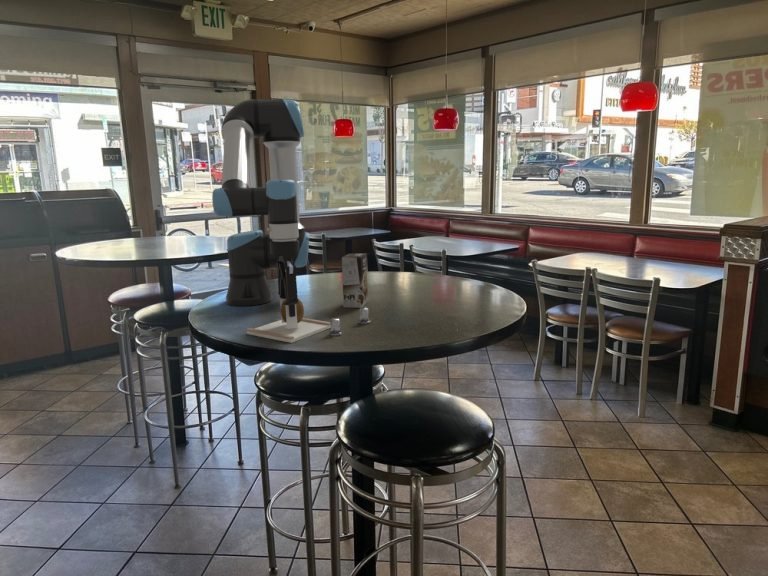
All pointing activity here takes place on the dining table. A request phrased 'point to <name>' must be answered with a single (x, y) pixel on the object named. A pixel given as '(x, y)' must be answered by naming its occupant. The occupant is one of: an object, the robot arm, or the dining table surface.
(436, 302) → the dining table surface
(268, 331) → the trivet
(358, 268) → the coffee box
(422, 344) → the dining table surface
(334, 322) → the pins
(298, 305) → the fruit
